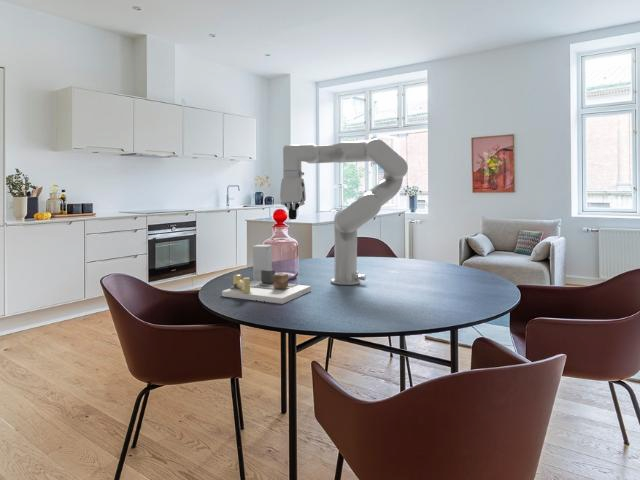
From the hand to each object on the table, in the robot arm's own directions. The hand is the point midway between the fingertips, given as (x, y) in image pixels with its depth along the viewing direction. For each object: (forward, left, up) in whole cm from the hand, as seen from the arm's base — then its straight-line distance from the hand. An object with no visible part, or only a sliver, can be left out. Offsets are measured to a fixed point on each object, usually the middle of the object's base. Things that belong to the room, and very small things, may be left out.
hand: (292, 219), depth 196 cm
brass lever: (+6, +29, -25) cm, 39 cm away
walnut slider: (-6, +20, -25) cm, 33 cm away
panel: (-1, +22, -27) cm, 35 cm away
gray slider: (+4, +14, -25) cm, 28 cm away
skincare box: (+14, +2, -27) cm, 31 cm away
